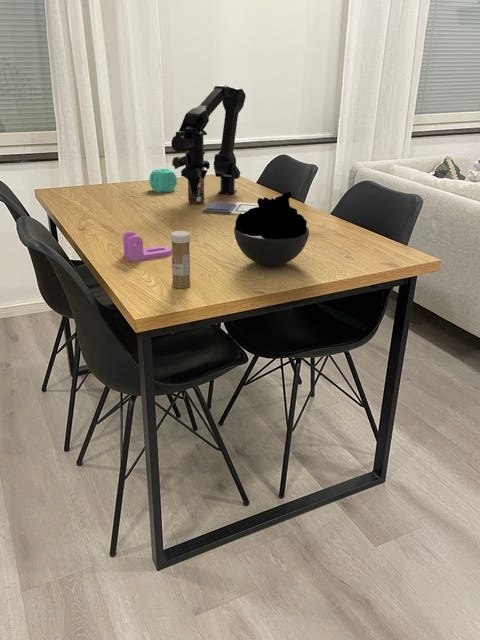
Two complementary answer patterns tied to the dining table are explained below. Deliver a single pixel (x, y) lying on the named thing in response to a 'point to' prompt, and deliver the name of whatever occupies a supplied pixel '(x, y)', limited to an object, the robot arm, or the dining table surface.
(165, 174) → the decorative dice
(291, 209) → the coal bowl
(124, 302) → the dining table surface
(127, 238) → the bracket
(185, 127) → the robot arm
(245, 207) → the form board
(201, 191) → the supplement bottle
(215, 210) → the ink pad
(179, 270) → the sprinkles bottle
